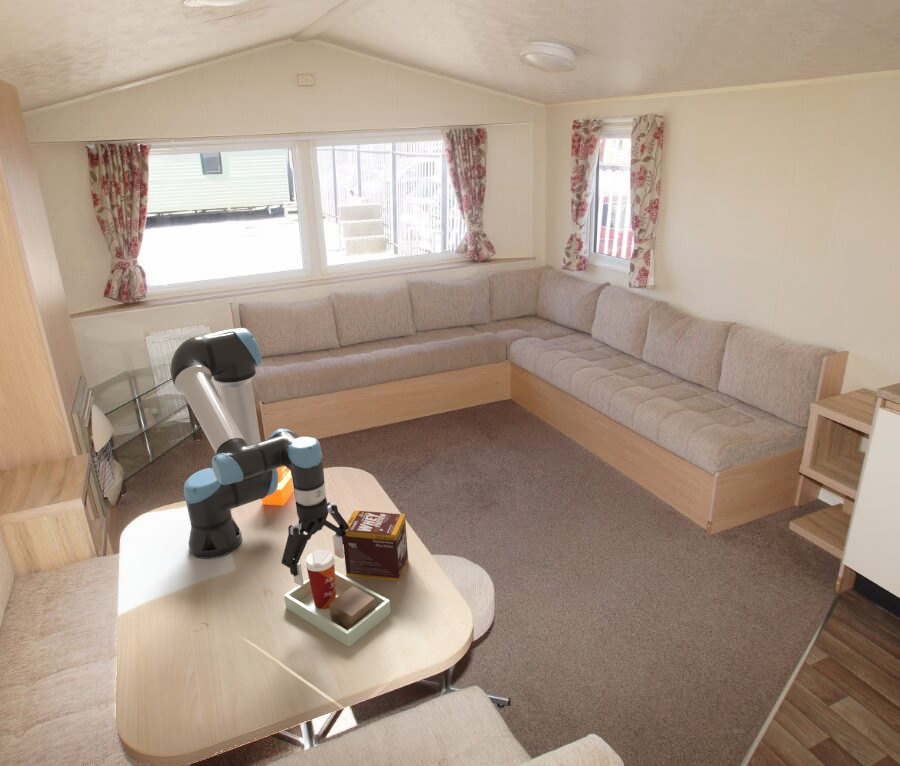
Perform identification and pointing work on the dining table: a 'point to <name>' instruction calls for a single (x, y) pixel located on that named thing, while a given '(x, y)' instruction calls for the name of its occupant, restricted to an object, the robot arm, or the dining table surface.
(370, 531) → the supplement box
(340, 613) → the walnut block
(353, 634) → the tote
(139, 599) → the dining table surface
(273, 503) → the orange juice
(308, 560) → the paper cup
